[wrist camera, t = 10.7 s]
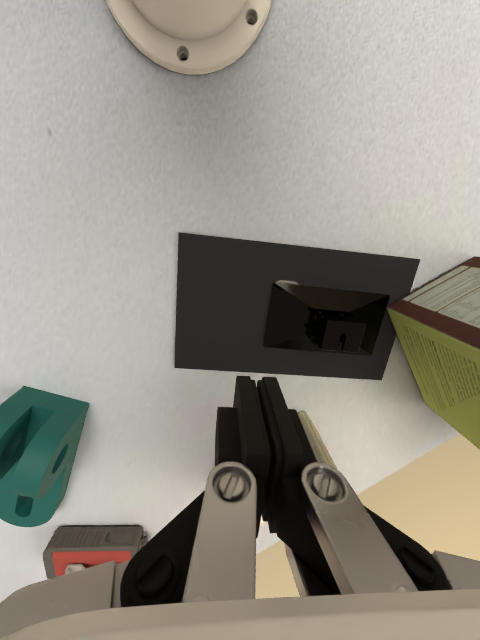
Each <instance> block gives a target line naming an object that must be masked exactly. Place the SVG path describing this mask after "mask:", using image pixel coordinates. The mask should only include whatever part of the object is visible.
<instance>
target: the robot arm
mask: <svg viewBox="0 0 480 640" xmlns="http://www.w3.org/2000/svg"><path fill="white" fill-rule="evenodd" d="M105 1H106V3H107V5H108V7H109V9H110V10H111V12H112V14H113V16H114V18H115V20H116V22H117V23H118V25H119V26H120V27H121V29H122V30H123V32H124V33H125V35H126V36H127V37H128V39H129V40H130V41H131V42H132V43H133V44H134V45H135V46H136V47H137V48H138V49H139V50H140V51H141V52H142V53H143V54H144V55H146V56H147V57H148V58H150V59H151V60H153V61H154V62H155V63H157V64H159V65H161V66H163V67H165V68H167V69H169V70H171V71H175V72H179V73H184V74H207V73H211V72H215V71H219V70H221V69H223V68H225V67H227V66H228V65H230V64H232V63H234V62H235V61H236V60H237V59H238V58H240V57H241V56H242V55H243V54H244V53H245V52H246V51H247V50H248V49H249V47H250V46H251V45H252V44H253V42H254V41H255V40H256V38H257V36H258V35H259V33H260V31H261V29H262V27H263V25H264V23H265V21H266V18H267V15H268V13H269V10H270V7H271V4H272V0H105ZM250 22H251V23H252V24H253V25H250V24H248V23H250ZM183 57H185V58H187V60H186V61H181V59H182V58H183ZM261 516H262V519H263V521H264V522H265V521H268V525H269V531H270V533H277V536H278V537H279V538H280V539H281V540H282V541H283V542H284V543H285V550H286V555H287V558H288V561H289V564H290V567H291V570H292V573H293V576H294V580H295V583H296V586H297V589H298V592H299V595H300V597H283V598H265V599H255V572H256V570H255V569H256V568H255V567H256V538H257V537H258V532H259V526H260V521H261ZM0 640H480V561H477V560H472V559H468V558H464V557H460V556H456V555H452V554H448V553H443V552H439V551H434V552H433V554H430V553H429V552H428V551H427V550H426V549H425V548H423V547H422V546H421V545H420V544H418V543H417V542H416V541H414V540H412V539H411V538H410V537H408V536H407V535H405V534H404V533H403V532H401V531H400V530H398V529H397V528H395V527H394V526H392V525H391V524H390V523H388V522H387V521H385V520H384V519H382V518H381V517H379V516H378V515H376V514H375V513H374V512H372V511H371V510H369V509H368V508H366V507H365V506H363V504H362V503H361V501H360V500H359V498H358V496H357V495H356V493H355V492H354V490H353V489H352V487H351V486H350V484H349V483H348V481H347V480H346V478H345V477H344V476H343V475H342V473H341V472H339V471H338V470H337V469H336V468H334V467H332V466H330V465H328V464H325V463H321V462H317V459H316V457H315V455H314V452H313V450H312V447H311V445H310V442H309V440H308V438H307V435H306V433H305V430H304V428H303V425H302V423H301V420H300V418H299V416H298V413H297V411H296V410H295V409H288V408H287V405H286V403H285V400H284V397H283V394H282V392H281V389H280V386H279V383H278V381H277V378H276V377H263V378H262V380H258V382H257V387H256V383H255V380H251V379H250V376H237V377H236V385H235V395H234V404H233V408H232V407H218V410H217V421H216V437H215V467H214V468H213V470H212V471H211V472H210V474H209V477H208V479H207V484H206V489H205V491H203V492H202V493H201V494H200V495H199V496H198V497H197V498H196V499H195V500H194V501H193V502H191V503H190V504H189V505H188V506H187V507H186V508H185V509H184V510H183V511H182V512H180V513H179V514H178V515H177V516H176V517H175V518H174V519H173V520H172V521H171V522H170V523H168V524H167V525H166V526H165V527H164V528H163V529H162V530H161V531H160V532H159V533H157V534H156V535H155V536H154V537H153V538H152V539H151V540H150V541H149V542H148V543H147V544H145V545H144V546H143V547H142V548H141V549H140V550H139V551H138V552H137V553H136V554H135V555H134V556H133V558H132V559H131V560H128V561H124V562H121V563H118V564H115V560H113V561H110V562H106V563H103V564H99V565H96V566H93V567H89V568H86V569H82V570H79V571H75V572H72V573H69V574H65V575H62V576H58V577H55V578H51V579H48V580H45V581H41V582H38V583H34V584H31V585H28V586H26V587H24V588H21V589H19V590H17V591H15V592H14V593H12V594H11V595H10V596H9V597H7V598H6V599H5V600H4V601H2V602H1V603H0Z"/></svg>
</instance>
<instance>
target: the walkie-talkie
mask: <svg viewBox="0 0 480 640" xmlns="http://www.w3.org/2000/svg"><path fill="white" fill-rule="evenodd" d="M147 543H148V537H147V536H144V537H143V528H141V527H139V526H121V527H60V528H58V529H57V530H56V531H55V532H54V534H53V536H52V538H51V540H50V542H49V543H48V545H47V547H46V549H45V551H44V553H43V561H44V566H45V570H46V575H47V579H51V578H55V577H58V576H62V575H65V574H69V573H72V572H75V571H79V570H82V569H86V568H89V567H93V566H96V565H99V564H103V563H106V562H110V561H113V560H115V564H118V563H121V562H124V561H128V560H131V559H132V558H133V556H134V555H135V554H136V553H137V552H138V551H139V550H140V549H141V548H142V547H143V546H144V545H145V544H147Z"/></svg>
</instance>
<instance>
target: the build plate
mask: <svg viewBox="0 0 480 640" xmlns="http://www.w3.org/2000/svg"><path fill="white" fill-rule="evenodd" d="M389 298H390V295H388V294H382V293H372V292H363V291H354V290H345V289H335V288H326V287H317V286H308V285H299V284H298V283H297V282H295V281H287V280H279V281H277V282H274V283H273V284H272V290H271V296H270V303H269V309H268V315H267V321H266V327H265V333H264V340H263V346H264V347H269V348H281V349H293V350H306V351H318V352H331V353H343V354H355V355H368V356H370V355H372V353H373V350H374V347H375V343H376V340H377V337H378V334H379V331H380V327H381V324H382V321H383V318H384V314H385V311H386V308H387V305H388V302H389Z"/></svg>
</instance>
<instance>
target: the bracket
mask: <svg viewBox="0 0 480 640" xmlns="http://www.w3.org/2000/svg"><path fill="white" fill-rule="evenodd" d="M88 406H89V403H86V402H83V401H79V400H75V399H71V398H67V397H64V396H60V395H56V394H52V393H48V392H45V391H41V390H37V389H33V388H30V387H26V386H24V387H22V388H21V389H20V390H19V391H17V392H16V393H15V394H14V395H12V396H11V397H10V398H9V399H7V400H6V401H5V402H4V403H2V404H1V405H0V518H1V519H2V520H4V521H5V522H7V523H10V524H12V525H16V526H21V527H35V526H39V525H42V524H44V523H46V522H48V521H49V520H50V519H51V518H52V516H53V515H54V513H55V511H56V509H57V508H58V506H59V504H60V503H61V501H62V499H63V497H64V495H65V491H66V488H67V484H68V480H69V476H70V473H71V469H72V465H73V462H74V458H75V454H76V450H77V447H78V443H79V439H80V435H81V432H82V428H83V424H84V421H85V417H86V413H87V409H88Z"/></svg>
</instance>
